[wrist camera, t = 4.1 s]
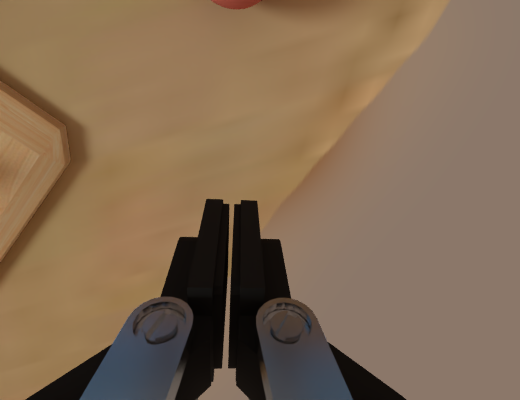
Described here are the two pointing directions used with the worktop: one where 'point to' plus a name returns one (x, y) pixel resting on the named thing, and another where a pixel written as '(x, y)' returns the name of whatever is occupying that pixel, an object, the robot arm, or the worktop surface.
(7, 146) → the wooden food tray
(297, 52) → the worktop surface
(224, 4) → the ball
